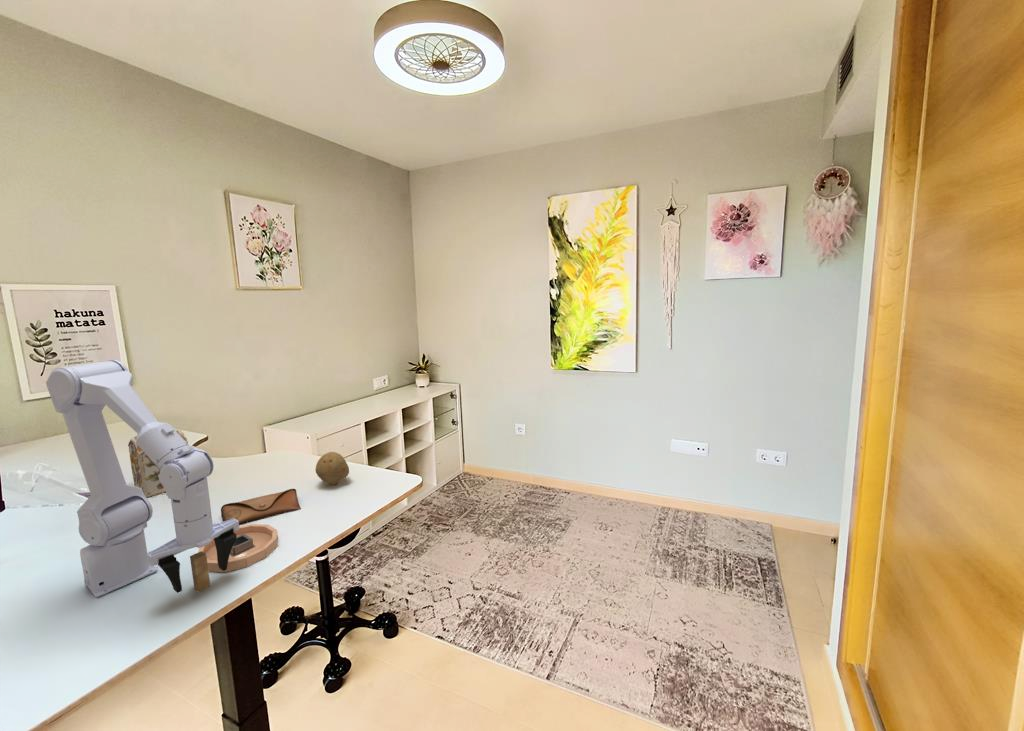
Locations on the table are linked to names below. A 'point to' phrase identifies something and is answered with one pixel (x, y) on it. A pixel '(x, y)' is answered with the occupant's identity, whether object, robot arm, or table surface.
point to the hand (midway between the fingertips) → (201, 578)
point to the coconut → (332, 468)
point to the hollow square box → (242, 545)
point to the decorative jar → (146, 469)
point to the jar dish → (264, 545)
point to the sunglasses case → (261, 507)
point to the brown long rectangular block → (200, 571)
